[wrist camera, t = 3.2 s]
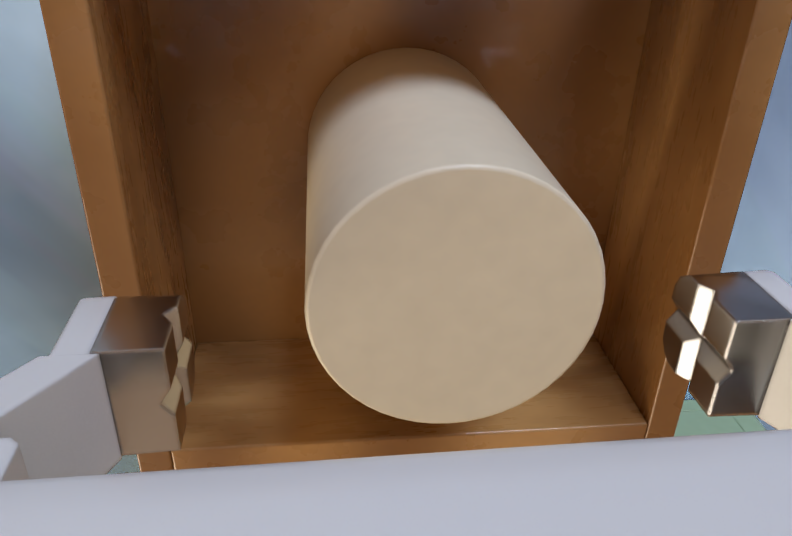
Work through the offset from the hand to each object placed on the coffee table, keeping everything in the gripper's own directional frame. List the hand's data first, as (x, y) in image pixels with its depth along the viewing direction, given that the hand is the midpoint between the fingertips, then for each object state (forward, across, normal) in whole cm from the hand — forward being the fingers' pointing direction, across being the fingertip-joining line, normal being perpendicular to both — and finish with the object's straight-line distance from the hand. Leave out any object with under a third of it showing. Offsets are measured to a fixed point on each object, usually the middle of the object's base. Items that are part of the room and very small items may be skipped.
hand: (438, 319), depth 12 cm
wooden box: (+8, 0, 0) cm, 9 cm away
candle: (+8, 0, 0) cm, 8 cm away
